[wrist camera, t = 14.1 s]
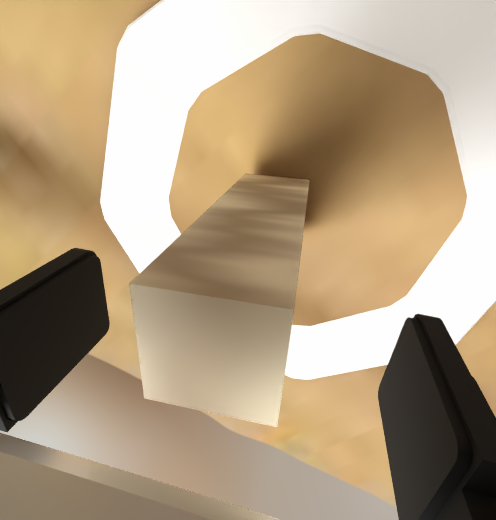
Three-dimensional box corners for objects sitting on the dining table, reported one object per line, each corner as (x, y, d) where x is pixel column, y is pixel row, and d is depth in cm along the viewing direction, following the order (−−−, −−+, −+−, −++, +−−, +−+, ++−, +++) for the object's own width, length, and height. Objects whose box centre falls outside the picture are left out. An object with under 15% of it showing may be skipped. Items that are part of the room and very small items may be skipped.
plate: (386, 404, 28) (389, 419, 27) (99, 286, 29) (88, 295, 27) (696, 50, 15) (732, 44, 14) (155, -155, 15) (140, -179, 14)
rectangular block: (309, 179, 19) (294, 309, 7) (301, 239, 21) (277, 426, 9) (245, 173, 20) (129, 283, 8) (242, 232, 22) (144, 398, 9)
